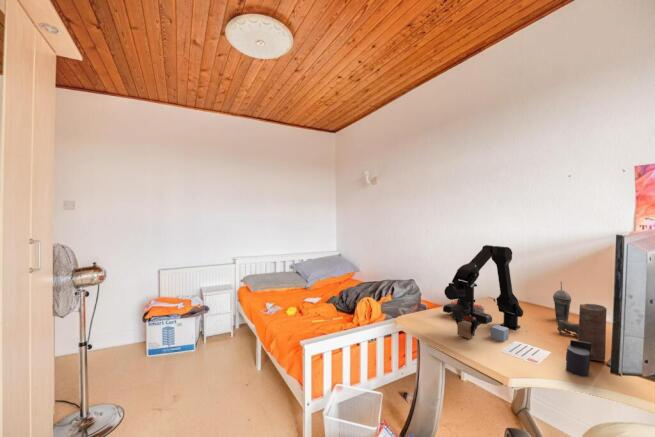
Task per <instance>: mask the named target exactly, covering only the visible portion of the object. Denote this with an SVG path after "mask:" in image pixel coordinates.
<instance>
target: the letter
mask: <svg viewBox="0 0 655 437" xmlns="http://www.w3.org/2000/svg"><path fill="white" fill-rule="evenodd" d="M499 352H500V353H503V354H506V355H509V356H512V357H515V358H518V359H520V360H522V361H526V362H528V363H530V364H533V365H536V366H538V365H539V364H540V363H541V362H543V360H545V359H546V358H547V357H548V356H550V355H551V354H552V351H548V350H545V349H542V348H540V347H536V346H533V345H531V344H530V345H529V344H526V343H525V342H520V341H518V340H515V341H513V342H512V343H510V344H509V345H507V346H505V347H504V348H502V349H501V350H499Z"/></svg>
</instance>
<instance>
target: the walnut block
mask: <svg viewBox="0 0 655 437" xmlns="http://www.w3.org/2000/svg"><path fill="white" fill-rule="evenodd" d="M456 326H457V328H456V329H457V330H456V335H458V336H461V337H463V338H466V339H471V338H473V337H475V336H476V334H475V332H476V331H475V332H474V334H473V335H471V322H470V321H466V320H462V321H461V322H459V323H456Z"/></svg>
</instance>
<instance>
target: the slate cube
mask: <svg viewBox="0 0 655 437" xmlns="http://www.w3.org/2000/svg"><path fill="white" fill-rule="evenodd" d="M509 329H510V328H507V327H504V326H501V325H498V324H494V325H492V326H490V338H491V339H493V340H497V341H500V342H503V343H504V342H506V341H508V340H509V338H510V337H509V335H510V334H509V333H510V331H509Z"/></svg>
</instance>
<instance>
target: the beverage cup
mask: <svg viewBox="0 0 655 437" xmlns="http://www.w3.org/2000/svg"><path fill="white" fill-rule="evenodd" d="M552 298H553V302H554V303H553V304H554V312H555V313H554V314H555V320H556V321H557V322H558V320H557V318H558V317H562V318H564V319H565V322H567V323H569V322H568V321H569V316H570V308H571V307H570V306H571V304H572V303H571V302H572V297H571V295H570V294H569V293H568V292H567V291H565V290H563V282H562V281H560V290H556V291H555V292H554V293H553V296H552ZM562 318H559V320H563V319H562Z"/></svg>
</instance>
